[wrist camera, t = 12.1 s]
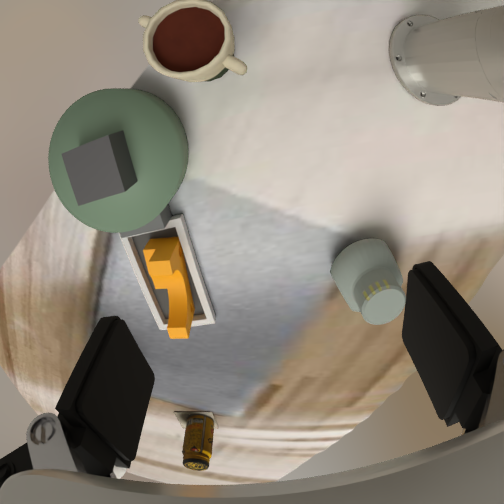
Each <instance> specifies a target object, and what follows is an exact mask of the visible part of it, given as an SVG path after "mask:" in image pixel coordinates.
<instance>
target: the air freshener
mask: <svg viewBox="0 0 504 504" xmlns="http://www.w3.org/2000/svg"><path fill="white" fill-rule="evenodd" d="M330 273H331V275H332V277H333V279H334V281H335V283H336V285H337V287H338V288H339V290H340V292H341V294H342V295H343V297H344V299H345V300H346V302H347V304H348V305H349V307H350V308H351V310H352V311H357V312H361V314H362V316H363V318H364V319H365V321H367V322H368V323H370V324H375V325H380V324H385V323H388V322H390V321H392V320H393V319H395V318H396V317H397V316H398V315H399V314H400V313H401V311H402V310H403V308H404V306H405V303H406V296H405V293H404V291H403V290H402V288H401V285H402V283H403V278H402V275H401V272H400V270H399V267H398V265H397V263H396V261H395V259H394V257H393V255H392V253H391V251H390V250H389V248H388V246H387V245H386V243H385V242H384V241H383V240H380V239H372V238H371V239H363V240H359V241H357V242H354V243H352V244H351V245H349V246H347V247H346V248H345V249H344V250H343V251H342V252H341V253H340V254H339V255H338V256H337V258H336V259H335V261H334V263H333V265H332V267H331V270H330Z"/></svg>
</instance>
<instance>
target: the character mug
mask: <svg viewBox="0 0 504 504" xmlns="http://www.w3.org/2000/svg"><path fill="white" fill-rule="evenodd" d="M139 23H140V25H141V26H142V27H144V28H146V29H145V32H144V34H143V51H144V53H145V56H146V58H147V60H148V63H149V64H150V65H151V66H152V67H153V68H154V69H155V70H156V71H158V72H159V73H161V74H163V75H166V76H169V77H172V78H176V79H180V80H183V81H188V82H202V81H212V80H214V79H217V78H220V77H222V76H223V75H224V74H225V73H226V72H227V71H228V70H231V71H233V72H235V73H236V74H239V75H244V74H245V73H247V66H246V64H245V63H244V62H242V61H241V60H239V59H237V58H235V57H234V54H233V53H234V35H233V31H232V27H231V25H230V23H229V21H228V19H227V17H226V15H225V13H224V12H223V11H222V10H221V9H220V8H218V7H217V6H216V5H214V4H213V3H212V2H210V1H206V0H176V1H174V2H172V3H170V4H168V5H166V6H164V7H162V8H161V9H159V10H158V12H157V13H156V14H155V15H154V16H153V17H149V16H142V17H140V18H139Z"/></svg>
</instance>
